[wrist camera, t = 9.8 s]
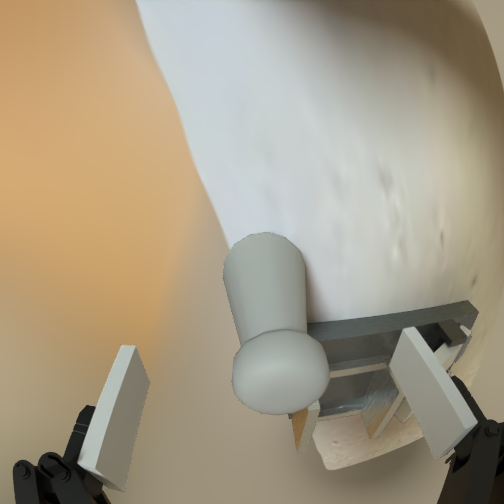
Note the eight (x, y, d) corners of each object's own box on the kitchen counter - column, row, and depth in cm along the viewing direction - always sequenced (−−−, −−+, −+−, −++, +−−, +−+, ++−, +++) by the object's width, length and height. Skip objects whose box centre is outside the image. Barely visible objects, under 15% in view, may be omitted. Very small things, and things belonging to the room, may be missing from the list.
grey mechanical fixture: (294, 324, 25) (310, 387, 18) (467, 300, 26) (502, 337, 19) (286, 402, 31) (294, 454, 24) (433, 373, 31) (454, 410, 24)
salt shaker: (212, 237, 21) (185, 372, 9) (284, 210, 20) (341, 327, 9) (241, 297, 24) (245, 438, 12) (306, 275, 23) (357, 407, 11)
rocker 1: (404, 397, 23) (415, 408, 22) (443, 365, 26) (452, 373, 25) (394, 415, 25) (403, 425, 23) (432, 383, 28) (441, 391, 26)
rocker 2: (428, 358, 21) (442, 368, 19) (461, 324, 24) (473, 332, 22) (415, 382, 22) (427, 392, 21) (450, 348, 25) (461, 356, 24)
